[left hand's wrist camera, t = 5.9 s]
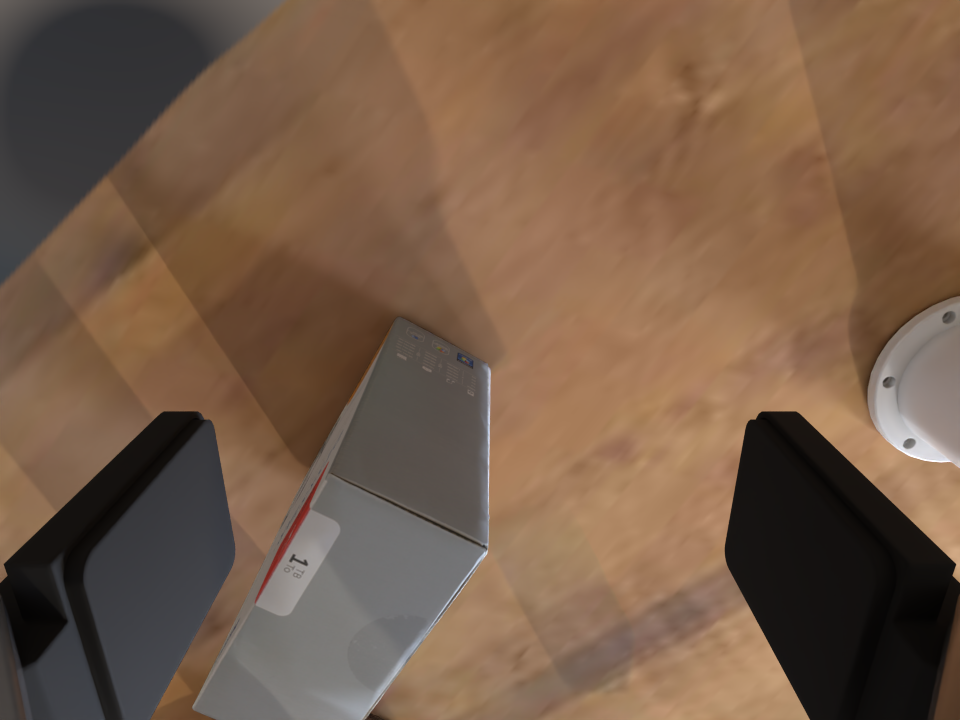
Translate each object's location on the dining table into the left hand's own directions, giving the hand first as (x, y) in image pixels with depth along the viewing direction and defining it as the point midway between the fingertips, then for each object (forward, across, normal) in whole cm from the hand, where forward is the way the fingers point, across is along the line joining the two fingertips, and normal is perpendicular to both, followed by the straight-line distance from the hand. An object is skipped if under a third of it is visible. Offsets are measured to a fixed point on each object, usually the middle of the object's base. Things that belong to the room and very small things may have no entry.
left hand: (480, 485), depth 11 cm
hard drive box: (+32, -6, -15) cm, 36 cm away
